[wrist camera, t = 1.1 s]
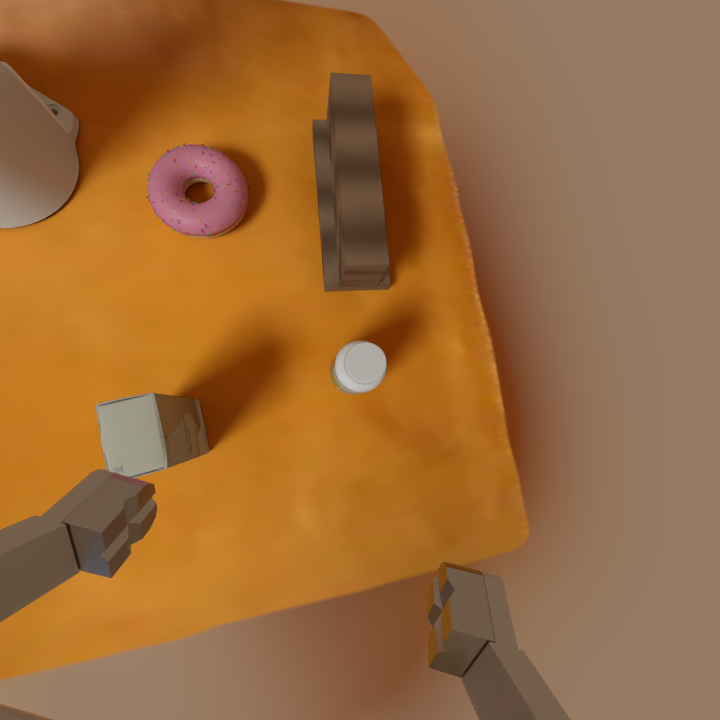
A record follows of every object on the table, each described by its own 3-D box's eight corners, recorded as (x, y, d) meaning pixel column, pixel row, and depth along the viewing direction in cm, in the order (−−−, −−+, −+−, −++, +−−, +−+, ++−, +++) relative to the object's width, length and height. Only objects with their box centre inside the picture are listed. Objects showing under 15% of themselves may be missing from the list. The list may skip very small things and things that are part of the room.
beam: (387, 289, 45) (405, 264, 37) (324, 291, 43) (329, 265, 35) (372, 131, 47) (386, 76, 39) (312, 128, 46) (314, 71, 38)
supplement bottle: (362, 343, 43) (379, 325, 34) (381, 383, 43) (403, 376, 33) (322, 360, 42) (328, 347, 33) (340, 402, 42) (352, 400, 32)
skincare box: (210, 452, 39) (170, 472, 27) (169, 463, 38) (107, 489, 26) (199, 395, 39) (154, 390, 27) (157, 405, 39) (92, 404, 27)
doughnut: (270, 199, 44) (266, 178, 40) (209, 263, 42) (199, 247, 38) (199, 143, 43) (189, 115, 39) (134, 204, 41) (116, 182, 37)
